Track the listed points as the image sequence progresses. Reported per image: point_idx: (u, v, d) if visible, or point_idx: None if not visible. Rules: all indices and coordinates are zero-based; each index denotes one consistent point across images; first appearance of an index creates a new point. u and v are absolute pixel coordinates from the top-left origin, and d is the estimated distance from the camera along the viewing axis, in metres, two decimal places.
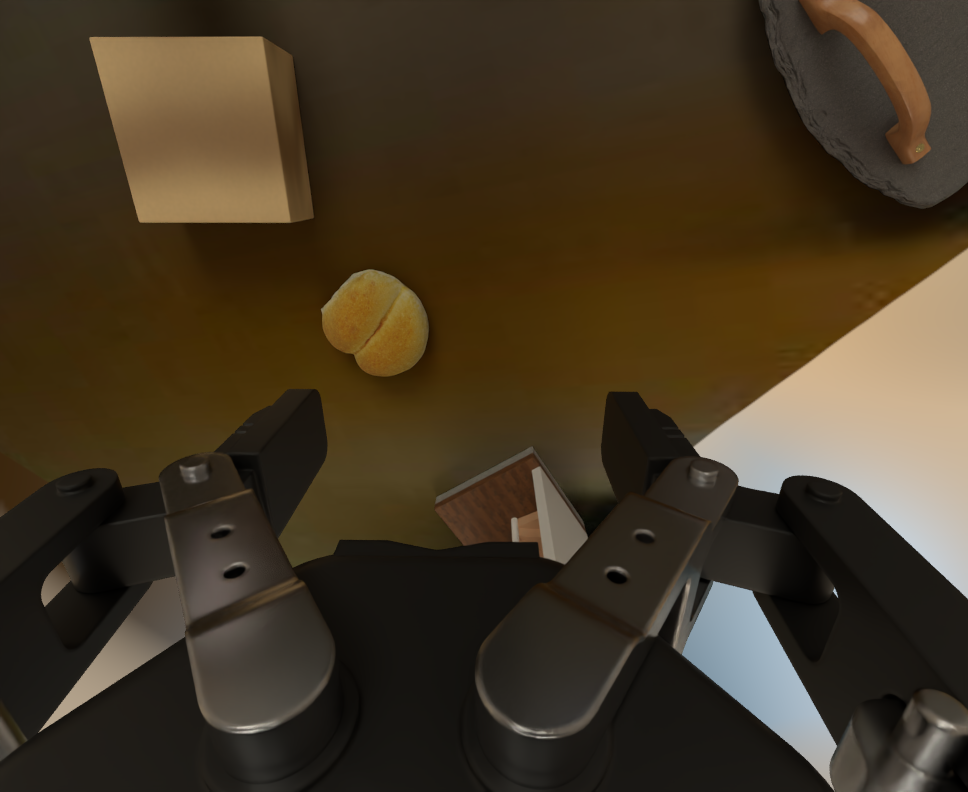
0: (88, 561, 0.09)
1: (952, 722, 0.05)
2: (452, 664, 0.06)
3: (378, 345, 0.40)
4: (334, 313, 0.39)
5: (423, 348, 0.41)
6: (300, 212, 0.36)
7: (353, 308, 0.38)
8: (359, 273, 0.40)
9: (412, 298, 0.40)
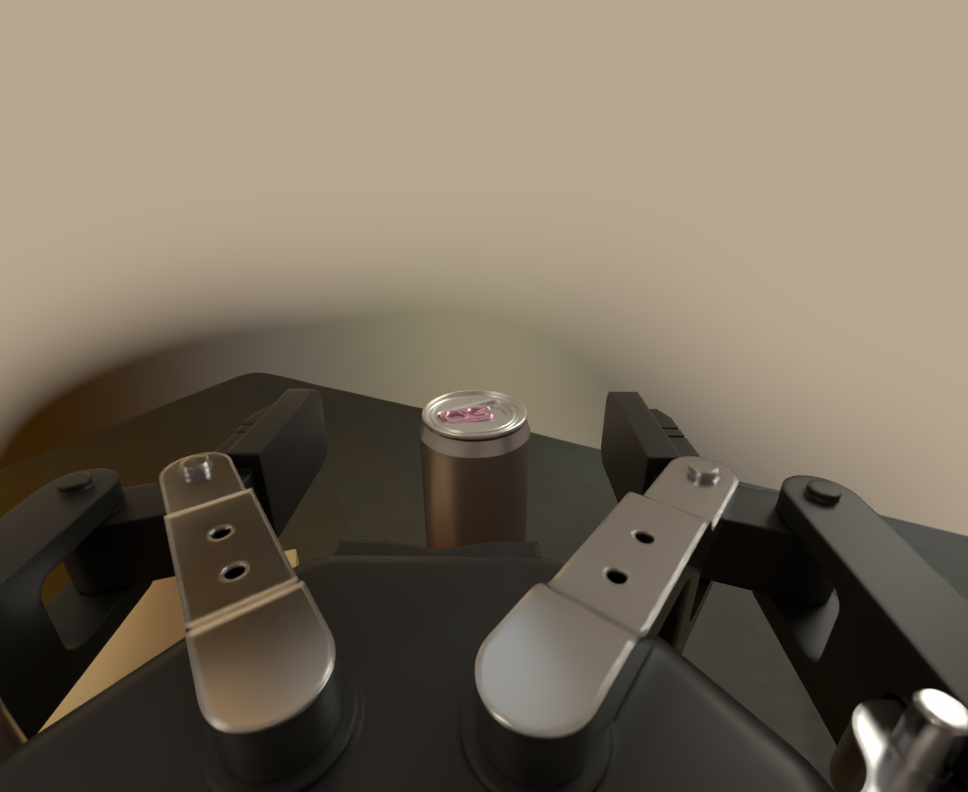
0: (88, 561, 0.09)
1: (953, 723, 0.05)
2: (452, 664, 0.06)
3: None
4: None
5: None
6: None
7: None
8: None
9: None
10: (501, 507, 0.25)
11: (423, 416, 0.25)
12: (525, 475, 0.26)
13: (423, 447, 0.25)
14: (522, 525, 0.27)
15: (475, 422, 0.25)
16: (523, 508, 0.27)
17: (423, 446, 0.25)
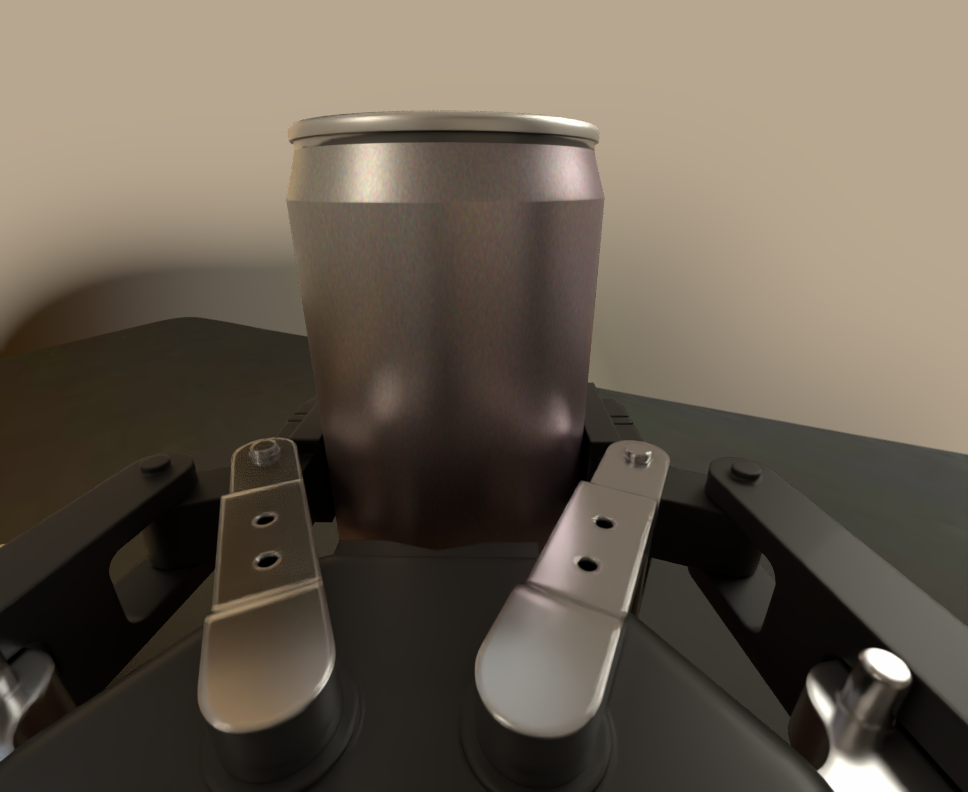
0: (160, 539, 0.09)
1: (895, 677, 0.05)
2: (452, 664, 0.06)
3: None
4: None
5: None
6: None
7: None
8: None
9: None
10: (523, 401, 0.08)
11: None
12: (589, 320, 0.09)
13: (290, 220, 0.08)
14: (574, 469, 0.10)
15: None
16: (579, 421, 0.10)
17: (290, 216, 0.08)
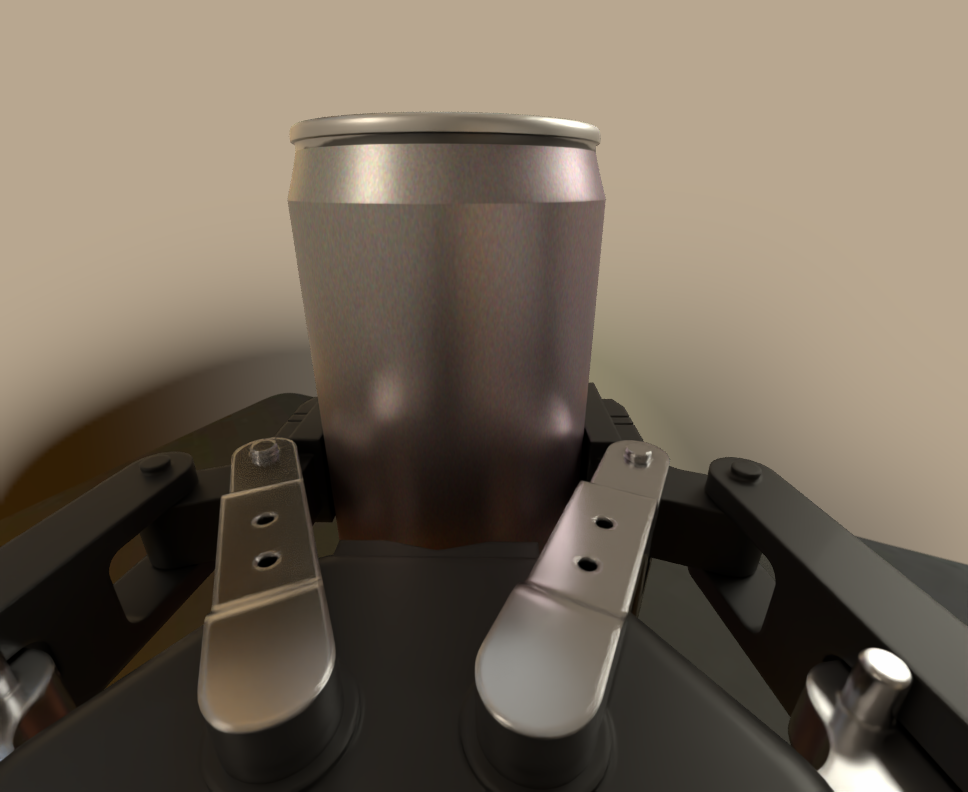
0: (160, 539, 0.09)
1: (895, 677, 0.05)
2: (452, 664, 0.06)
3: None
4: None
5: None
6: None
7: None
8: None
9: None
10: (524, 402, 0.08)
11: None
12: (590, 321, 0.09)
13: (292, 221, 0.08)
14: (575, 470, 0.10)
15: None
16: (579, 422, 0.10)
17: (291, 217, 0.08)
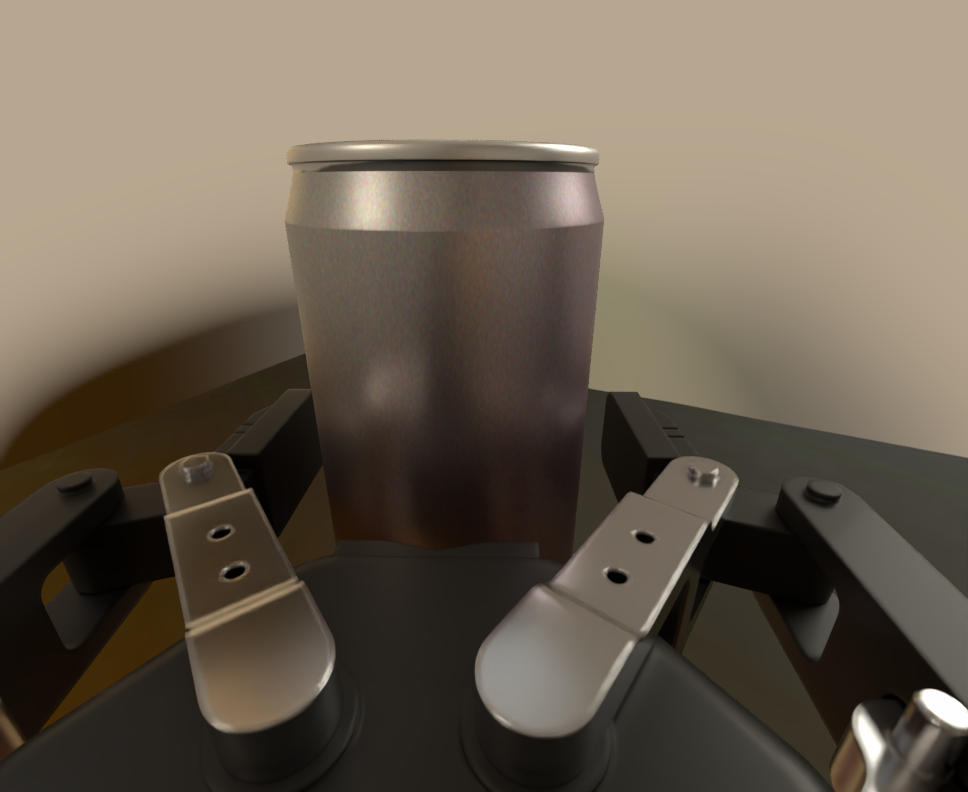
0: (88, 561, 0.09)
1: (952, 722, 0.05)
2: (452, 664, 0.06)
3: None
4: None
5: None
6: None
7: None
8: None
9: None
10: (522, 424, 0.08)
11: None
12: (588, 341, 0.09)
13: (289, 243, 0.08)
14: (573, 488, 0.10)
15: None
16: (578, 440, 0.10)
17: (288, 239, 0.08)
